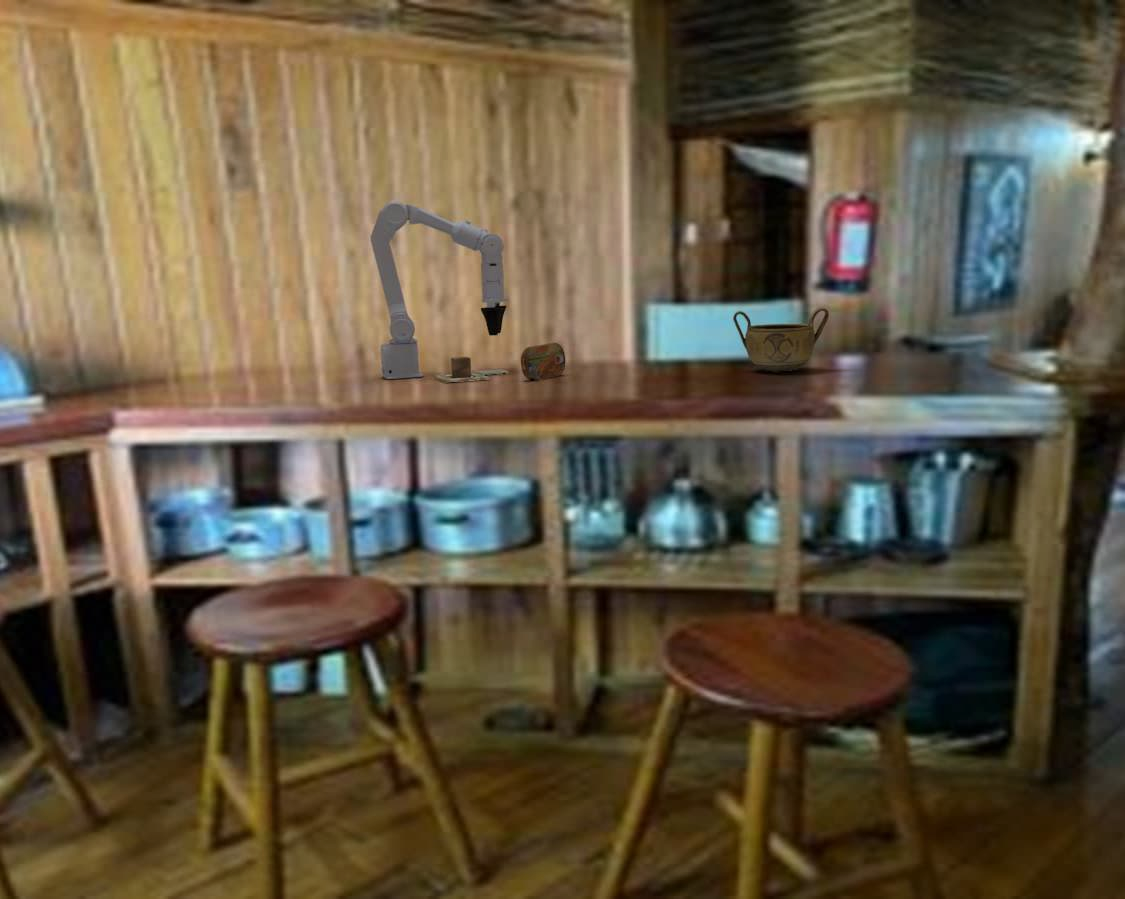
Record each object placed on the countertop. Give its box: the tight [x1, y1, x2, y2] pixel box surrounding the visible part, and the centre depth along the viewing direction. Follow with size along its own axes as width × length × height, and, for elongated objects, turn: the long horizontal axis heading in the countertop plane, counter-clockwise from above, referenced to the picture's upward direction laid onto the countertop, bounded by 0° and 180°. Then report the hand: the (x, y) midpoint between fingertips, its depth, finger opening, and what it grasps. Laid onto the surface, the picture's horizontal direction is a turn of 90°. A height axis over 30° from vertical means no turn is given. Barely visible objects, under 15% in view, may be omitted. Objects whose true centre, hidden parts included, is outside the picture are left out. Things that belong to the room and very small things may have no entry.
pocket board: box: [434, 372, 490, 384], centre depth 245 cm, size 11×12×1 cm
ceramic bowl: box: [732, 307, 830, 373], centre depth 236 cm, size 22×17×15 cm
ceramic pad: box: [475, 368, 510, 376], centre depth 256 cm, size 7×7×1 cm
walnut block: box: [450, 356, 472, 379], centre depth 244 cm, size 4×4×6 cm
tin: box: [520, 342, 566, 381], centre depth 241 cm, size 15×3×8 cm, turn 143°
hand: (495, 334), depth 257 cm, fingers open, 7 cm apart
